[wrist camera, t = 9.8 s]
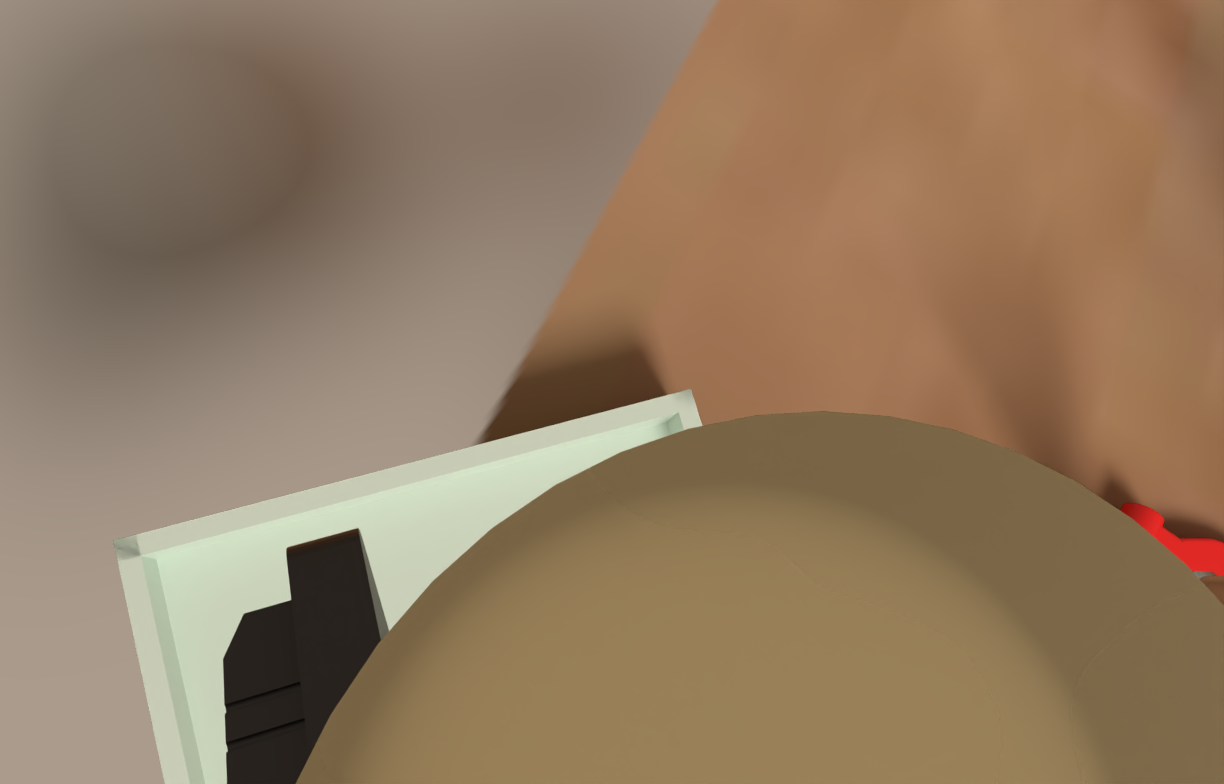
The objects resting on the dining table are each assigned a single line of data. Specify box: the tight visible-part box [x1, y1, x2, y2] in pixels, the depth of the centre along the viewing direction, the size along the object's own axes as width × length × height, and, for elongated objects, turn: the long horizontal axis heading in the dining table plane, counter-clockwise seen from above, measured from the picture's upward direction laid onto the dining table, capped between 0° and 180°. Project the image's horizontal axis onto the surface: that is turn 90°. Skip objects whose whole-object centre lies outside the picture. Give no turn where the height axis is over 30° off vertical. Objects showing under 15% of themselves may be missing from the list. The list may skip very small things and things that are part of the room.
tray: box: [113, 389, 702, 784], centre depth 30 cm, size 17×12×2 cm
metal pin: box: [296, 411, 1224, 784], centre depth 10 cm, size 4×4×14 cm
